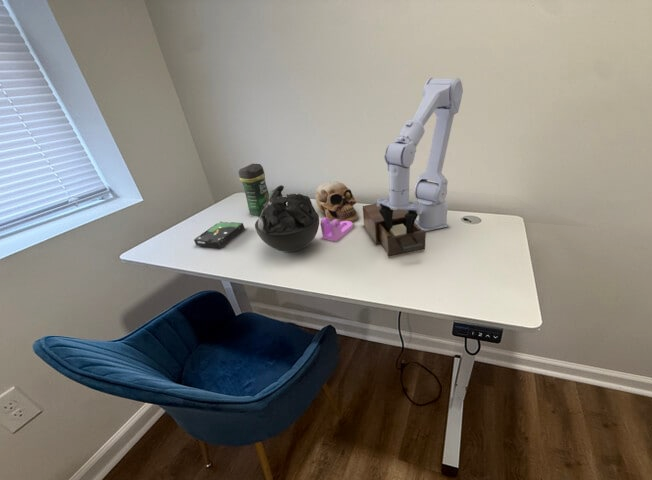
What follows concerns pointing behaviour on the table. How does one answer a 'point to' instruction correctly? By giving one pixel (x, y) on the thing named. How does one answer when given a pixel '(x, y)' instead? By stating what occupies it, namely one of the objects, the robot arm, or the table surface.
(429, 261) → the table surface
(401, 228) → the beige rectangular block
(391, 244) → the drawer
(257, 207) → the coffee jar
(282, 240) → the bowl of black rocks
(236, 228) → the disk drive
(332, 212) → the skull
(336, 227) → the bracket
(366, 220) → the cabinet
